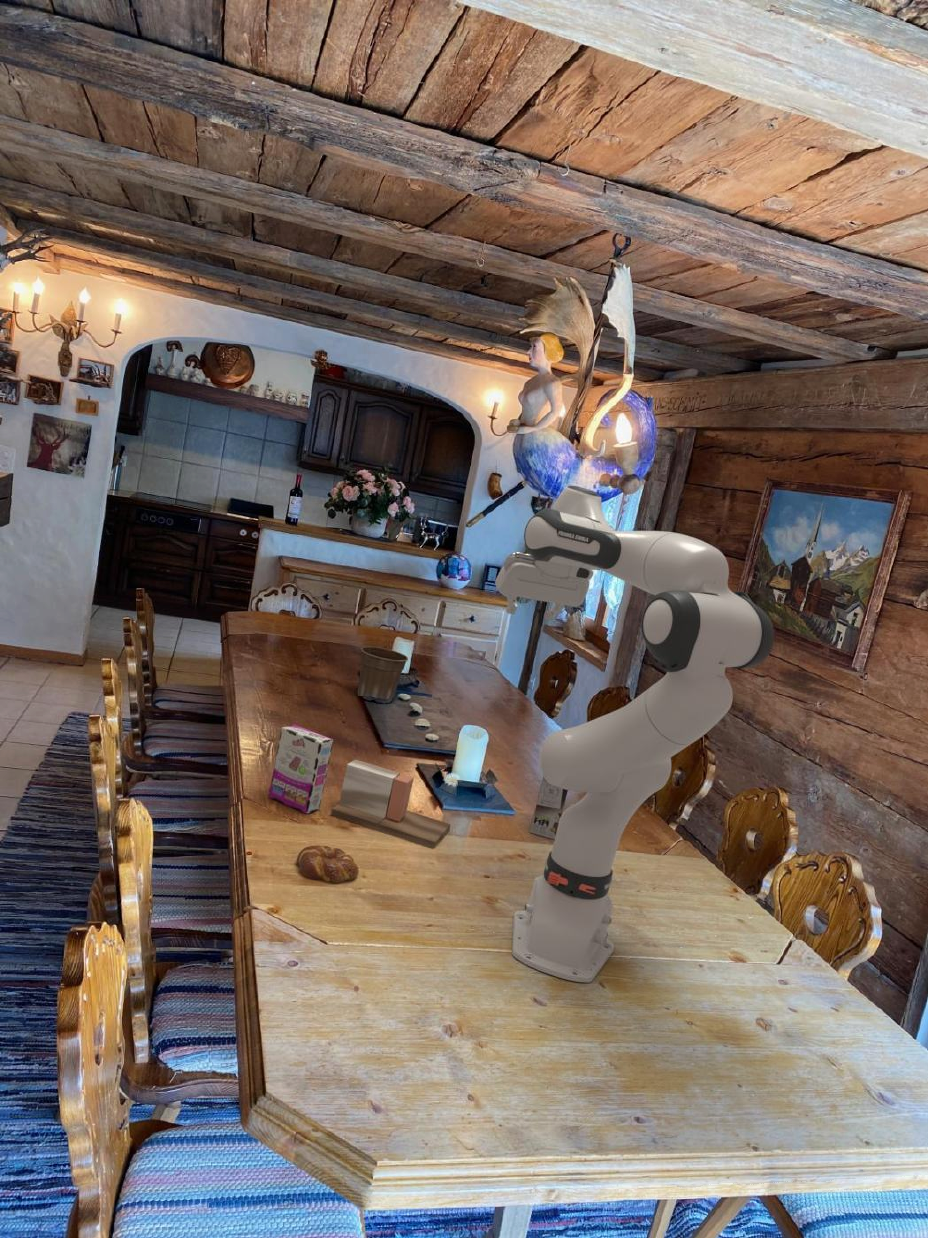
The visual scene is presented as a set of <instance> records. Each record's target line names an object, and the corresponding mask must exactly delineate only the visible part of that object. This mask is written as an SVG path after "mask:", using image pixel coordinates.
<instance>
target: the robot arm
mask: <svg viewBox="0 0 928 1238" xmlns="http://www.w3.org/2000/svg"><path fill="white" fill-rule="evenodd" d="M605 517H606V516H605V515H604V513H603V511H602V497H601V495H600V494H599V493H597V491H593V490H591V489H588V488H585V487H581V486H577V485H568V486H565V487H564V488H563V490H562V491H561V492H560V494H559V495H558V497H557V498H556V501H555V503H554V504H553V507H552V508H549V507H545V508H543V509H541V510H539V511H538V512H536V513H534V515H533V516H532V517H530V519H529V520H528V521H527V523H526V526H525V528H524V532H523V533H524V534H523V540H524V545H525V547H526V549H527V551H528V553H525V552H521V551H515V552H513V553H511V554H509V555H507V556H506V558H505V561H504V564H503V566H502V568H501V569H500V571H499V572H498V575H497V576H496V579H495V581H494V584H495V587H496V589H497V590H498V592H499V593H500V594H501V595H506V599H507V606H506V608H505V612H506V613H507V614H509V615H515V614H516V612H517V609H518V607H517V605H516V604H515V603H514V601H516V600H517V599H518V598H522V599H523V598H524V599H529V600H533V601H539V602H540V601H541V602H545V603H550V604H554V605H553V606H552V607H551V608H550V609H546V610H545V613H544V614H543V617H544V619H545V620H546V621H553V620H554V619H555V617H556V615H557V614H559V613H560V612H561V611H563V610H564V608H565V606H567V607H572V608H573V607H574V608H577V607H579V606H581V605H582V604H583V603H584V602H585V599H586V596H587V593H588V591H589V588H590V580H591V579H592V578H593V576H594V574H595V573H594V571H603V572H605V573H607V574H609V575H611V576H612V577H613V576H614V577H615V578H616V579H620V580H622V581H623V582H626V583H627V584H630V585H631V586H634V587H636V588H637V589H640V590H642V591H644V592H646V593H648V594H651V595H653V597H652V598H651V599H650V600H649V601H648V603H647V605H646V607H645V608H644V611H643V613H642V617H641V623H640V624H641V626H640V628H641V634H642V637H643V640H644V642H645V645H646V648H647V650H648V651H649V653H650V654H651V655H652V660H653V662H654V664H655V665H656V666H657V667H658V668H659V669H661V670H663V671H664V672H666V674H665V675H664V676H663V677H662V678H660V679H659V680H657V682H655V683H654V684H652V685H651V686H650V687H649V688H647V689H646V690H645V691H643V692H642V693H641V694H639V695H638V696H637V697H635V698H634V699H633V700H632V701H630V702H629V703H627V704H626V705H624V706H622V707H620V708H618V709H616V710H614V711H611V712H610V713H607V714H605V715H602V716H599V717H596V718H595V719H592V720H590V721H587V722H584V723H582V724H580V725H576V726H572V727H568V728H564V729H560V730H555V731H551V733H549V734H548V735H547V737H545V739H544V741H543V743H542V745H541V748H540V751H539V755H538V764H539V768H540V771H541V773H542V777H543V776H544V778H545V779H546V781H547V782H548V783H549V784H551V785H553V786H556V787H560V788H563V789H566V790H568V791H571V792H574V793H586V794H585V795H584V796H583V797H582V798H581V799H580V800H579V801H577V802H576V803H574V804H573V805H570V806H569V807H567V808H566V809H565V810H563V812H562V816H561V817H560V820H559V824H558V828H557V832H556V836H555V839H553V845H552V849H551V851H549V853H548V856H547V858H546V860H545V865H544V869H543V870H544V871H543V874H541V875H539V876H537V877H535V878H534V882H533V885H532V889H531V893H530V896H529V900H528V903H526V904H525V906H524V910H516V911H515V912H514V915H513V916H512V917H513V921H512V944H511V945H512V948H511V951H512V952H511V953H512V954H511V955H512V956H513V957H514V958H515V959H517V960H518V961H519V962H521V963H522V964H525V965H526V966H529V967H531V968H532V969H535V970H537V971H540V972H542V973H545V974H548V975H550V976H554V977H556V978H560V979H564V980H566V981H567V980H568V981H571V982H577V983H591V982H592V981H593V980H594V979H595V977H597V975H598V974H599V972H600V970H601V969H602V968H603V967H604V965H605V964H606V962H607V961H608V960H609V958H610V957H611V955H612V954H614V953H613V952H614V950H615V943H613V941H611V940H610V939H608V937H609V932H608V928H609V925H610V924H611V922H612V919H613V917H611V916H612V911H613V907H614V903H613V900H611V898H610V896H609V890H610V887H611V885H612V881H613V873H614V872H613V869H612V868H613V866H614V862H615V861H614V860H615V857H616V854H617V850H618V848H619V847H618V846H619V844H620V841H621V837H622V835H623V833H624V831H625V828H626V827H627V825H628V823H629V822H630V820H631V819H632V817H633V815H634V814H635V812H636V811H637V810H639V808H640V807H641V805H642V804H644V802H645V801H646V800H647V799H648V798H649V797H651V796H652V795H653V794H655V793H657V792H658V791H659V790H662V789H663V788H664V787H665V786H666V785H667V783H668V781H669V779H670V777H671V772H672V757H674V756H675V755H677V754H678V753H680V752H681V751H683V750H684V749H685V748H687V747H689V746H691V745H692V744H693V743H694V742H697V741H698V740H699V739H701V738H702V737H703V736H705V734H707V733H708V732H709V731H710V730H711V729H713V728H714V727H715V726H716V725H717V724H718V723H719V722H720V721H721V720H722V719H723V717H725V715H727V713H728V712H729V711H730V709H731V706H732V704H733V701H734V699H733V698H734V693H733V688H732V685H731V683H730V681H729V679H728V678H727V676H726V672H725V671H726V669H727V668H731V669H733V670H741V669H749V668H753V667H756V666H758V665H760V664H762V663H763V662H764V661H765V660H766V659H767V658H768V657H769V655H770V654H771V652H772V650H773V647H774V642H775V629H774V626H773V623H772V620H771V619H770V617H769V616H768V614H767V613H766V612H765V611H764V610H763V609H762V608H760V607H759V606H758V605H757V604H755V603H754V602H753V601H752V599H751V598H750V596H749V595H748V594H747V593H746V592H745V591H735V592H733V591H732V590H731V589H730V588H729V585H728V581H729V577H730V576H729V575H730V567H729V563H728V561H727V559H726V556H725V555H724V554H723V552H721V550H720V549H718V548H716V547H715V546H713V545H712V544H709V543H707V542H705V541H704V540H702V539H699V538H696V537H693V536H690V535H687V534H683V533H678V532H674V531H673V532H672V531H663V530H662V531H660V530H615V529H614V527H613V526H612V525H610V524H609V522H608V521H607V519H606V518H605Z"/></svg>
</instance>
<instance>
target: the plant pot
mask: <svg viewBox="0 0 928 1238" xmlns="http://www.w3.org/2000/svg"><path fill="white" fill-rule="evenodd" d="M360 652H361V655H360V669H359V670H360V671H359V679H358V687H357V693H356V694H357V696H358V697H359V696H372V697H375V698H382V699H391V698H393V697H395V694H396V692H397V688H398V685H399V681H400V678H401V676H402V672H403V671H404V669H405V666H406V663H407V662H408V661H409V657H408V656H407V655H405V654H403V653H401V652H399V651H396V650H392V649H389V648H384V647H379V646H362V647H361V648H360ZM393 699H394V698H393Z"/></svg>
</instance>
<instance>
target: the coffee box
mask: <svg viewBox="0 0 928 1238" xmlns="http://www.w3.org/2000/svg"><path fill="white" fill-rule="evenodd" d="M568 791H569V790H566V789H563V788H560V787H556V786H553V785H551V784H549V783H548V782H547V781H546V779H545V778H544V776H543V775H542V780H541V785H540V788H539V792H538V797H537V800H536V804H535V807H534V808H535V809H534V813H533V817H532V820H531V821H532V822H531V826H530V830H529V832H530V834H533V835H537V836H541V837H545V838H547V839H551V840H555V836H556V832H557V828H558V824H559V820H560V817H561V816H562V814H563V813H564V808H565V803H566V800H567V795H568Z"/></svg>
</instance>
